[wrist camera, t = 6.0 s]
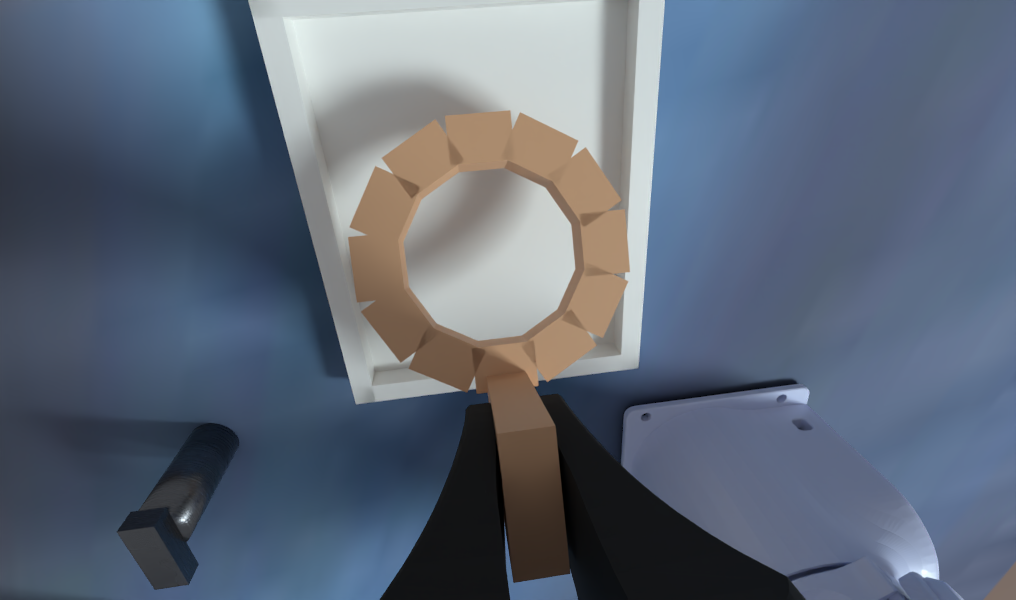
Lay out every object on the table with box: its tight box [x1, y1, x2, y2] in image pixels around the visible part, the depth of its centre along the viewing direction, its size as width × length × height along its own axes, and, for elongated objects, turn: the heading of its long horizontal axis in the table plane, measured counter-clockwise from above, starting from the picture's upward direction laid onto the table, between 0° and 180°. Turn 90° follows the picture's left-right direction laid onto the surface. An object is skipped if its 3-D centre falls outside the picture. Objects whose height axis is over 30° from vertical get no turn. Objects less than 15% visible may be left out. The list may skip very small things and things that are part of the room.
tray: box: [248, 0, 665, 404], centre depth 17 cm, size 12×14×2 cm
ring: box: [348, 110, 630, 583], centre depth 12 cm, size 11×8×6 cm
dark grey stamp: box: [117, 424, 239, 590], centre depth 19 cm, size 2×3×5 cm, turn 4°
